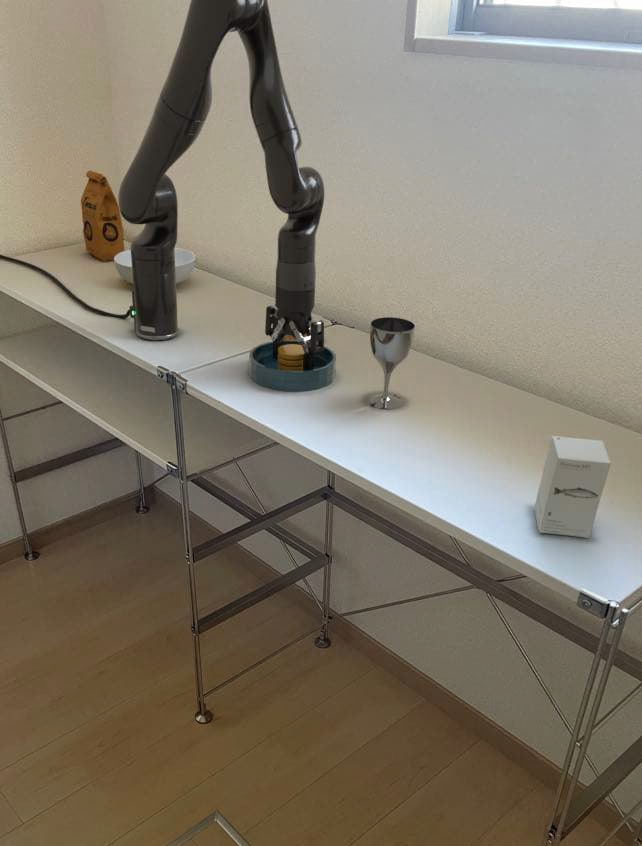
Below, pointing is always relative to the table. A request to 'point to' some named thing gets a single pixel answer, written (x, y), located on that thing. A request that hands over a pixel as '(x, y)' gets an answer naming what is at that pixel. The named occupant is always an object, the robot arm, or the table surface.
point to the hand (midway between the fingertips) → (293, 364)
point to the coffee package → (101, 219)
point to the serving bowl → (182, 264)
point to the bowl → (271, 377)
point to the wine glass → (390, 352)
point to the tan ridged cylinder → (290, 357)
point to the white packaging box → (571, 486)
